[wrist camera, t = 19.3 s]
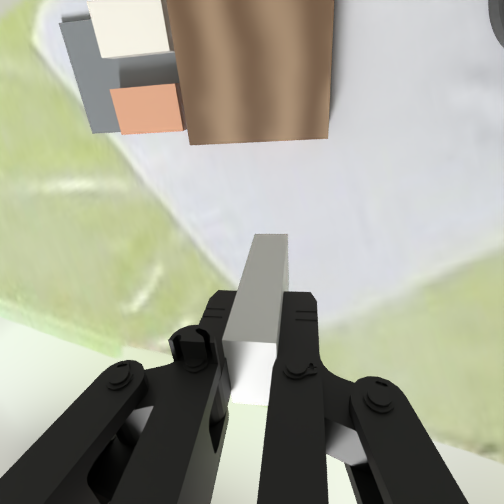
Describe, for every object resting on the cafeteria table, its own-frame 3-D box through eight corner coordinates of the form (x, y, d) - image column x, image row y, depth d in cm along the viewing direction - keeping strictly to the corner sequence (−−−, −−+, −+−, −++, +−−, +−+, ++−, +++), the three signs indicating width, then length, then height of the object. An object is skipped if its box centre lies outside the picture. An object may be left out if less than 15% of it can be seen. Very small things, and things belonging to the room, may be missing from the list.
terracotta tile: (182, 82, 37) (174, 83, 35) (189, 127, 39) (183, 130, 37) (120, 88, 38) (109, 89, 36) (131, 131, 41) (121, 134, 38)
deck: (333, -44, 30) (337, -59, 26) (325, 132, 38) (327, 138, 34) (176, -21, 33) (160, -32, 29) (199, 139, 40) (189, 145, 37)
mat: (176, 9, 34) (174, 8, 33) (194, 126, 40) (192, 127, 39) (62, 23, 36) (58, 23, 36) (95, 132, 42) (92, 133, 41)
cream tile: (168, -4, 33) (159, -10, 31) (177, 52, 35) (169, 50, 33) (100, 5, 34) (86, 1, 32) (113, 58, 37) (101, 57, 34)
